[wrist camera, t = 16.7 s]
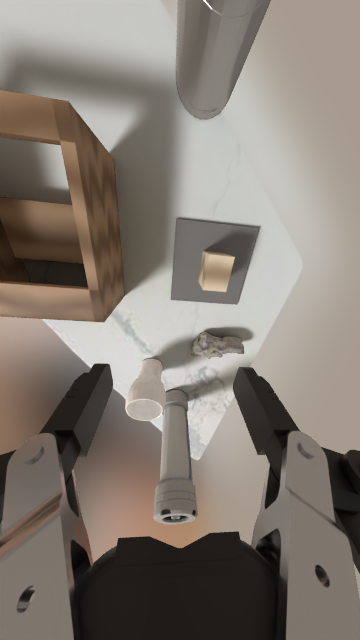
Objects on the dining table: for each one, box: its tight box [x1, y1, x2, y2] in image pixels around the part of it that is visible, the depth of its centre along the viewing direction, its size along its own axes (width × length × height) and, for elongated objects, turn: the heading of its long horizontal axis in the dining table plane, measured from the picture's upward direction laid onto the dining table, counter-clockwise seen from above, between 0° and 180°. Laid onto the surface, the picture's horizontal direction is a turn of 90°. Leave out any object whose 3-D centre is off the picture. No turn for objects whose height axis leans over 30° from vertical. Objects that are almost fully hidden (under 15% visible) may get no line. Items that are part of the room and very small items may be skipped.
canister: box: [153, 390, 197, 524], centre depth 48 cm, size 10×10×30 cm
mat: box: [171, 219, 259, 304], centre depth 38 cm, size 18×18×1 cm
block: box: [198, 251, 235, 292], centre depth 34 cm, size 7×5×7 cm
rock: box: [191, 332, 244, 359], centre depth 46 cm, size 16×7×7 cm, turn 93°
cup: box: [126, 359, 166, 421], centre depth 47 cm, size 11×11×15 cm
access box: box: [0, 90, 125, 322], centre depth 27 cm, size 26×24×14 cm
